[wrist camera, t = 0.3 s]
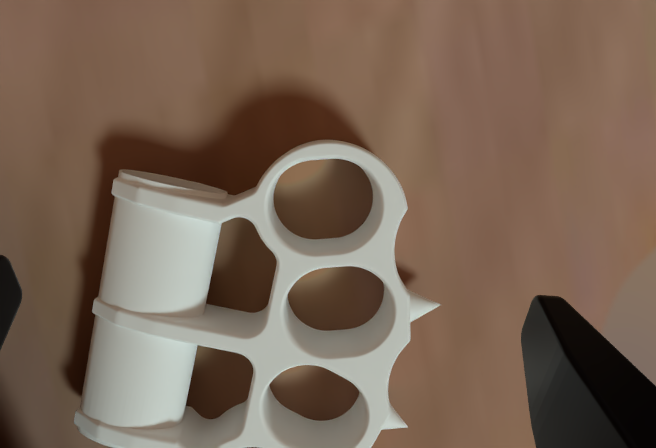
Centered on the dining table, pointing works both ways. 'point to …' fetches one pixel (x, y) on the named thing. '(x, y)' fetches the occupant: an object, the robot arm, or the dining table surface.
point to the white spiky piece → (236, 315)
